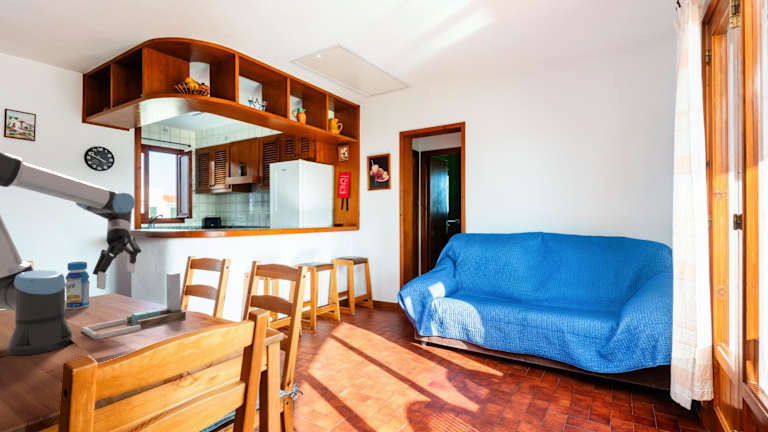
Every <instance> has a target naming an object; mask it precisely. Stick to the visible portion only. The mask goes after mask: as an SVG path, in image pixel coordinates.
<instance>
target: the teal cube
mask: <svg viewBox="0 0 768 432" xmlns="http://www.w3.org/2000/svg"><path fill="white" fill-rule="evenodd" d="M144 311H145V310H143V311H138V312H134V313H131V315H132V325H134V326H136V325H137V320H142V319H147V318H148V313H147V312H144ZM132 325H131V326H132Z"/></svg>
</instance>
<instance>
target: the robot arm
mask: <svg viewBox="0 0 768 432" xmlns="http://www.w3.org/2000/svg"><path fill="white" fill-rule="evenodd" d="M11 186H13V187H16V188H21V189H25V190H28V191H31V192H36V193H39V194H44V195H47V196H51V197H55V198H58V199H62V200H65V201H69V202H73V203H75V205H76V206H77V207H79V208H81V209H82V210H85V211H87V212H90V213H92V214H95V215H96V216H99V217H101V218H103V219H105V220H107V228H106V229H107V230H106V243H107V246H108V247H107V249H101V251H100V255H99V258H98V260H97V262H96V264H95V267H94V269H93V271H92V275H96V288H97V289H100V290H103V291H105V290H106V288H107V287H106V285H107V276H108V274H107V273H106V272H107V271H108V269H109V267H110V265H111V264H112V262H113V261H114V260H116V258H117V257H118V256H119V255H120V254H122V253H124V252H125V253H127V254H128V255H126V266H125V267H126V268H125V269H126V272H129V273H132V274H134V273H136V263H137V256H138V255H139V253H142V249H141V248H140V246H139V245H138V243H137V242H136V237H135V236H133V235H132V234H131V224H132V212H133V211H132V210H133V209H134V208H135V205H136V200H135V198H134V196H133V195H132V194H131V193H129V192H124V191H119V192H118V191H114V190H111V189H107V188H105V187H102V186H99V185H96V184H92V183H89V182H87V181H83V180H79V179H77V178H73V177H71V176H67V175H64V174H61V173H58V172H55V171H53V170H52V171H51V170H48V169H46V168H42V167H40V166H35V165H33V164H30V163H27V162H24V161H23V160H22V158H21V157H19V156H16V155H12V154H11V153H6V152H4V151H1V150H0V187H4V188H9V187H11ZM128 245H129V246H128ZM65 284H66V278H65V276H64V274H63V273H62V272H60V271H55V270H46V269H45V270H44V269H43V270H42V269H41V270H34V268H33V266H32V264H31V263H30V262H28V261H25V260H23V259H22V258H21V256H20V254H19V252H18V249H17V247H16V245H15V242H14V240H13V238H12V236H11V235H10V233H9V231H8V228H7V226H6V224H5V222H4V220H3V218H2V216H1V214H0V309H1V310H2V309H3V310H6V311H7V310H9V311H10V310H11V311H14V315H15V316H14V319H15V320H14V321H15V322H14V323H15V324H14V325H15V326H14V329H13V331H12V334H11V336H10V338H9V342H8V344H7V355H12V356H28V355H36V354H42V353H46V352H51V351H55V350H60V349H62V348H63V347H67V346H69V345H70V344H71V343H73V333H72V330H71V329H70V326H69V324H68V322H67V319H66V287H65Z"/></svg>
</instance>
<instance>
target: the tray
mask: <svg viewBox="0 0 768 432" xmlns="http://www.w3.org/2000/svg"><path fill="white" fill-rule="evenodd" d="M124 324H128V323H127V317H126V318H122V319H121V318H120V319H115V320H111V321H105V322H100V323H94V324H91V325H86V326H85V325H83V326H82V327H81V332H82V333H83V334H85V335H87V336H89V338H92V339H94V340H101V339H105V338H109V337H115V336H118V335H123V334H127V333H132V332H136V331H141V330H142V328H141V325H136V326H132V325H130V326H128V327H127V326H125V327H122V328H119V329H118V328H117V329H113V330H109V331H108V330H107V331H103V332H99V333H98V332H96V331H95V330H99V329H103V328H104V329H105V328H109V327H113V326H119V325H124Z"/></svg>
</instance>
